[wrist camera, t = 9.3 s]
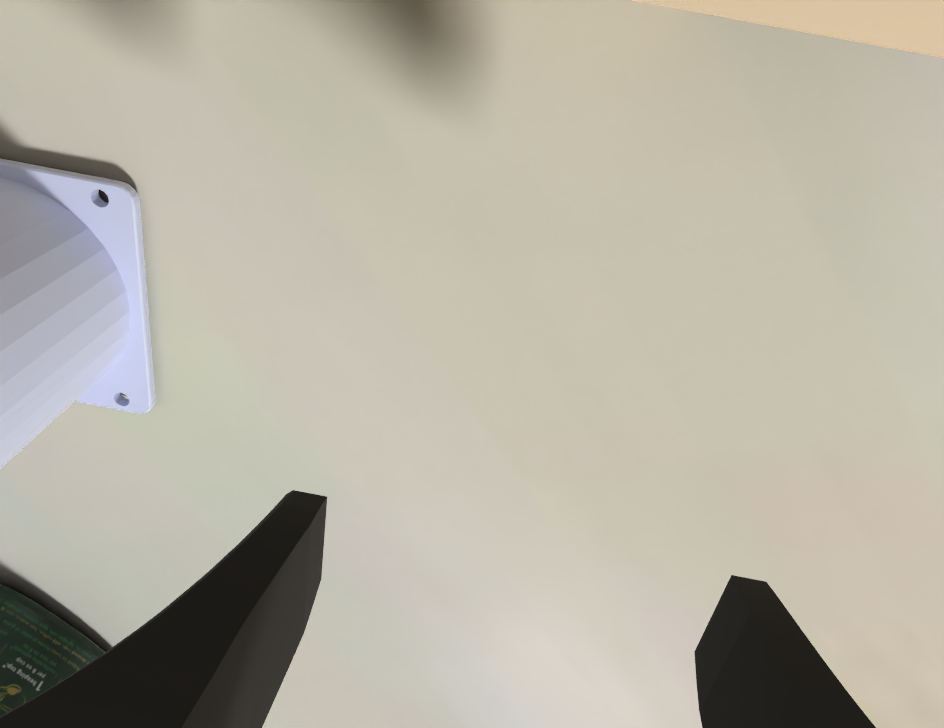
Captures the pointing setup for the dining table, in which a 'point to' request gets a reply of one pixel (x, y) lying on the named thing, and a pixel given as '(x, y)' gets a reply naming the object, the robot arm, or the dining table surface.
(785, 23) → the tan flat square block
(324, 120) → the dining table surface
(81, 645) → the coffee jar
